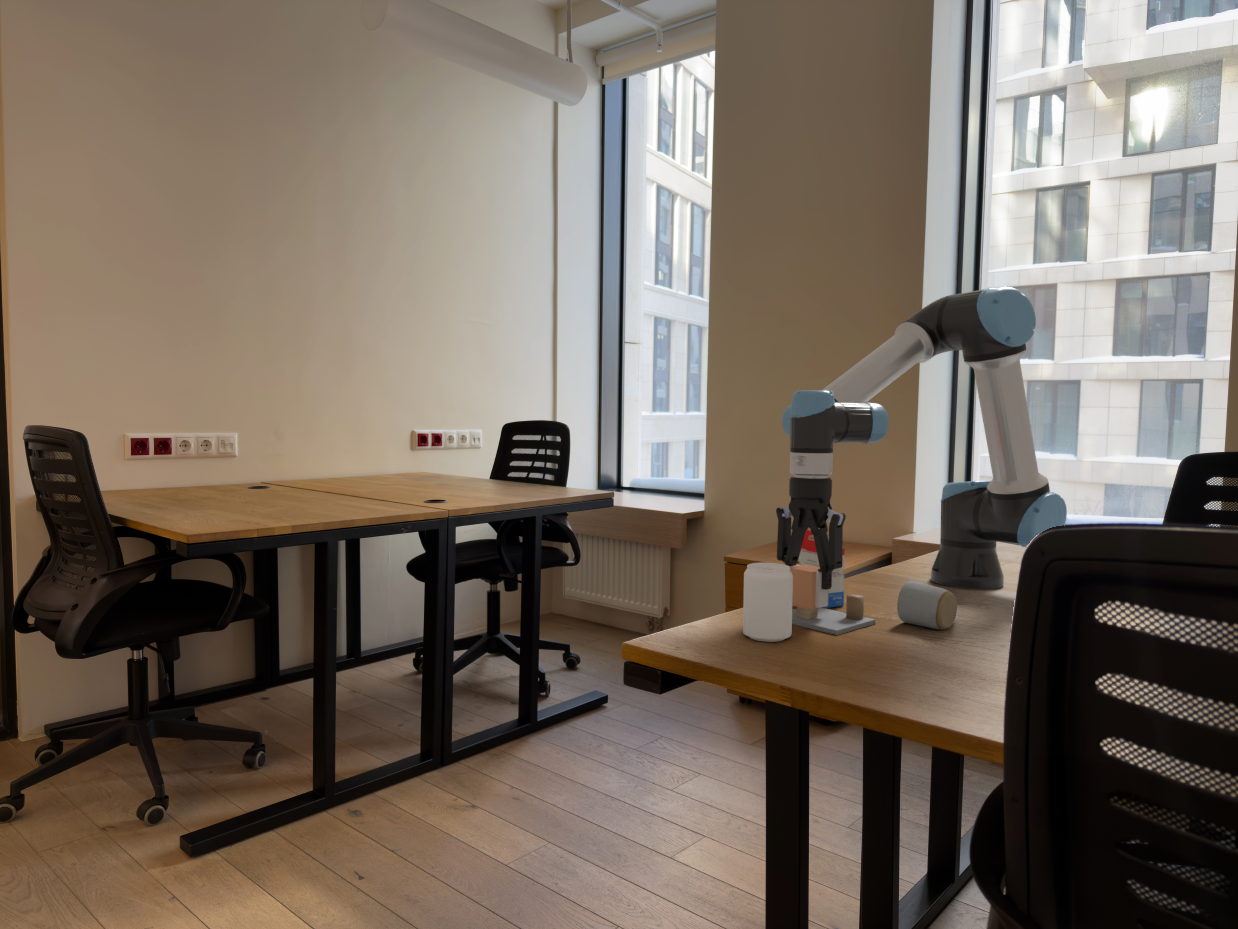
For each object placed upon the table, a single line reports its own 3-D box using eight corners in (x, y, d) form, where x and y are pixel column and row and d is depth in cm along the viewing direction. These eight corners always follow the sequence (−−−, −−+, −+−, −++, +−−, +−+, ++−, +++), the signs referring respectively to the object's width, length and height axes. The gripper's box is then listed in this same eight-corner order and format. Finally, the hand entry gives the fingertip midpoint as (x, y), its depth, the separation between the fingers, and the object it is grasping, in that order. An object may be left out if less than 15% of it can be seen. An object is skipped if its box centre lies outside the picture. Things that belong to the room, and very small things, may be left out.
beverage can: (785, 645, 132) (786, 572, 132) (736, 639, 136) (738, 568, 135) (796, 633, 140) (797, 564, 139) (750, 628, 143) (751, 560, 142)
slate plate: (810, 609, 157) (811, 584, 157) (875, 623, 147) (876, 597, 147) (771, 619, 150) (771, 593, 149) (836, 635, 139) (837, 607, 139)
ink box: (844, 606, 160) (846, 532, 159) (825, 609, 158) (827, 533, 157) (815, 597, 168) (817, 526, 167) (796, 600, 166) (798, 528, 165)
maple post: (805, 618, 150) (806, 576, 150) (817, 621, 148) (818, 578, 148) (796, 620, 149) (797, 578, 148) (808, 623, 147) (809, 580, 146)
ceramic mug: (939, 634, 140) (941, 590, 140) (895, 625, 146) (897, 582, 146) (967, 625, 147) (969, 583, 147) (924, 616, 153) (926, 576, 153)
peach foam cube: (804, 600, 152) (805, 564, 152) (828, 605, 148) (829, 568, 148) (787, 604, 149) (788, 567, 148) (811, 610, 145) (811, 572, 144)
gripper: (757, 473, 151) (755, 597, 153) (842, 480, 138) (838, 616, 139) (782, 472, 156) (780, 592, 158) (867, 478, 142) (863, 609, 144)
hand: (807, 603), depth 148 cm, fingers closed on peach foam cube, 5 cm apart
